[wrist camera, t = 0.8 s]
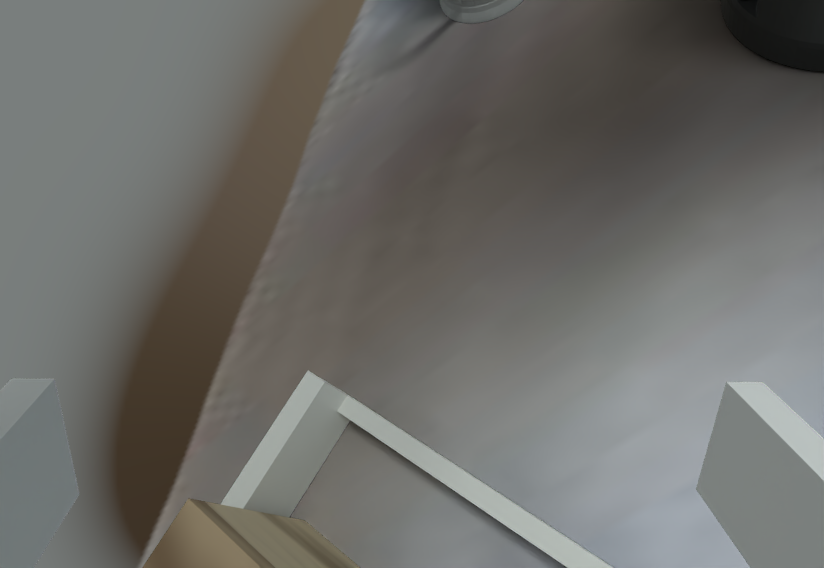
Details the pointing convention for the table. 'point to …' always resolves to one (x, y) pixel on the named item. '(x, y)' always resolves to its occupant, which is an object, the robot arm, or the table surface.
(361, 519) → the table surface
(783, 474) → the robot arm
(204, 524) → the tan cardboard box
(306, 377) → the bay
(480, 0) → the glass holder
